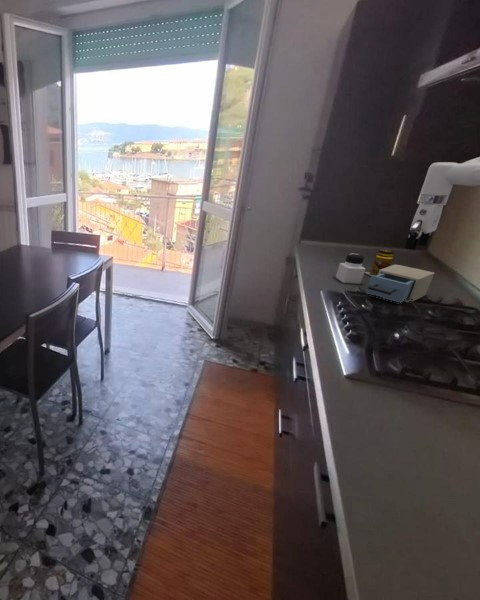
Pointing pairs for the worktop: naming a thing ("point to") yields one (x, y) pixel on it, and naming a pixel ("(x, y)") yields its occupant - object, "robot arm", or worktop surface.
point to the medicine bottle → (351, 269)
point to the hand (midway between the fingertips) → (415, 247)
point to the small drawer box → (419, 275)
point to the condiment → (381, 261)
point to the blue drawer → (390, 287)
